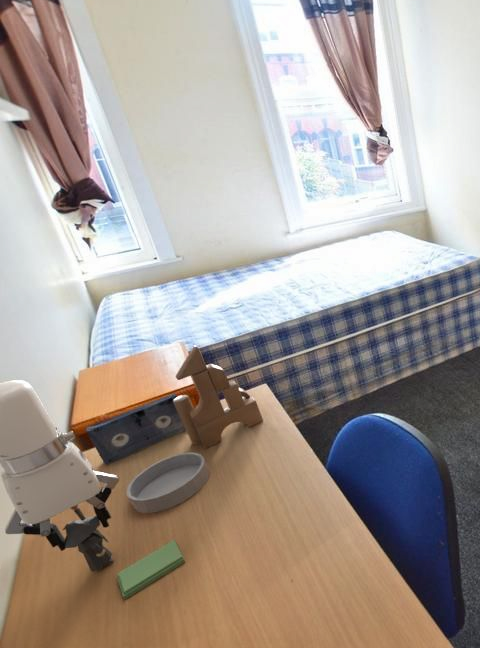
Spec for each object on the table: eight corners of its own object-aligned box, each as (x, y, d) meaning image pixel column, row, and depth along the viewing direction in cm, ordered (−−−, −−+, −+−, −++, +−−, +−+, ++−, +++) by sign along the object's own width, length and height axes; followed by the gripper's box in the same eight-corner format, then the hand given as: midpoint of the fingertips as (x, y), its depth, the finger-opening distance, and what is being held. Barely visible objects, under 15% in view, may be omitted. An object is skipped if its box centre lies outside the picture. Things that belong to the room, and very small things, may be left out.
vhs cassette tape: (189, 423, 125) (175, 392, 121) (191, 428, 123) (177, 396, 119) (103, 460, 114) (85, 427, 110) (104, 465, 112) (85, 432, 108)
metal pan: (141, 524, 93) (133, 511, 92) (127, 491, 103) (120, 479, 101) (218, 482, 102) (212, 470, 101) (199, 455, 112) (194, 444, 110)
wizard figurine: (129, 556, 86) (97, 508, 81) (93, 582, 81) (58, 534, 76) (107, 541, 90) (75, 495, 85) (72, 566, 85) (37, 519, 80)
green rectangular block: (124, 599, 78) (121, 594, 78) (118, 579, 82) (115, 573, 82) (185, 562, 84) (182, 557, 83) (176, 544, 88) (174, 539, 87)
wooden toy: (254, 411, 127) (223, 329, 117) (263, 420, 123) (231, 336, 113) (190, 441, 117) (150, 354, 107) (197, 452, 113) (156, 363, 103)
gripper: (97, 418, 84) (138, 495, 91) (-41, 473, 73) (18, 555, 80) (103, 434, 79) (146, 514, 86) (-44, 496, 68) (20, 581, 75)
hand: (84, 533), depth 83 cm, fingers closed on wizard figurine, 5 cm apart
